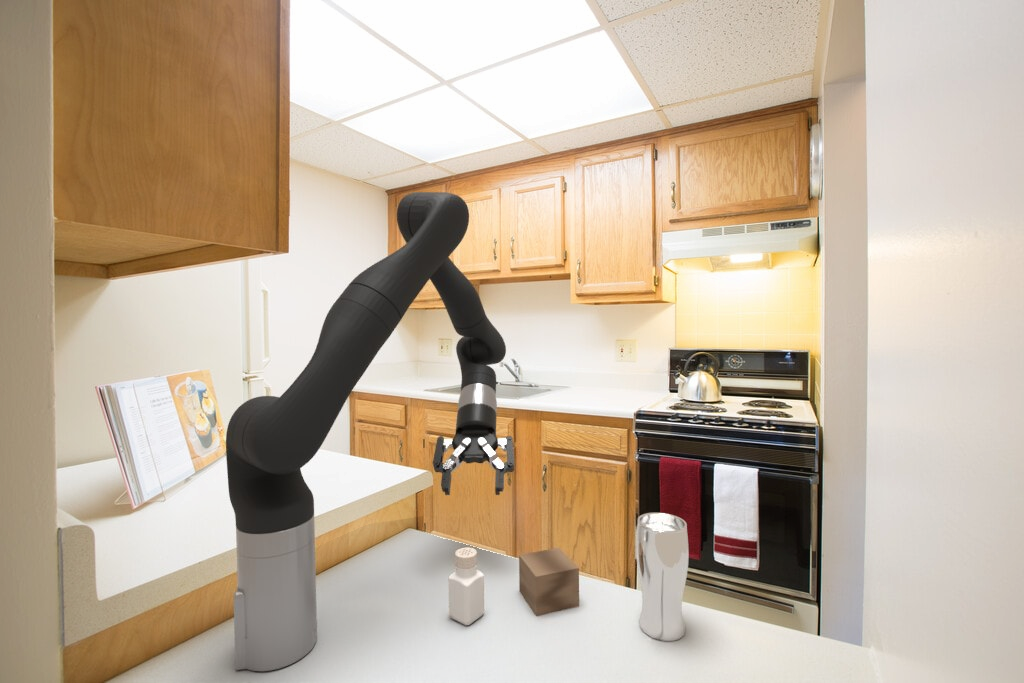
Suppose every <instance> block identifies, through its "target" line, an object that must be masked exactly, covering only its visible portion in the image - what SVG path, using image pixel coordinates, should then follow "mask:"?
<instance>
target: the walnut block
mask: <svg viewBox="0 0 1024 683" xmlns="http://www.w3.org/2000/svg"><path fill="white" fill-rule="evenodd" d="M518 570H519V571H518V576H519V577H518V579H519V580H518V582H519V583H518V584H519V586H518V588H519V594H521V595H522V597H523V599H524V600H525V602H526V603H527V605H528V606H529V608H530V609H531V611H532V612H533V613H534V615H535V617H539V616H544V615H548V614H552V613H557V612H561V611H565V610H570V609H573V608H579V607H580V567H578V566H577V564H575V562H574V561H573V560H572V559H571V558H569V556H568V554H566V553H565V552H564V551H563V550H562V549H561V548H560V547H555V548H551V549H550V548H549V549H543V550H540V551H535V552H534V551H533V552H528V553H527V552H526V553H522V554H519V555H518Z"/></svg>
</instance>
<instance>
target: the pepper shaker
mask: <svg viewBox="0 0 1024 683" xmlns="http://www.w3.org/2000/svg"><path fill="white" fill-rule="evenodd" d="M477 551H478V550H476V549H475V548H473V547H469V546H467V547H461V548H459V549H457V550H455V552H454V554H455V555H454V556H455V560H454V561H455V563H454V566H455V571H453V572H452V573H451V574H450V575H449V577H448V615H449V617H450V618H451V619H453V620H455V621H456V622H459V623H460V624H463V626H469V625H471V624H472V623H474V622H475V621H476V620H478V619H479V618H480V617H482V616H483V615H484V613H485V575H484V573H483V572H482V571H480V570H478V568H477V566H478V552H477Z"/></svg>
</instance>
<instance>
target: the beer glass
mask: <svg viewBox="0 0 1024 683" xmlns="http://www.w3.org/2000/svg"><path fill="white" fill-rule="evenodd" d="M636 526H637V527H636V536H635V537H636V541H635V544H636V545H635V551H636V552H635V554H636V555H635V556H636V565H637V566H636V567H637V572H638V578H639V582H640V583H639V584H640V588H641V599H642V600H641V601H642V602H641V611H640V615H639V622H638V623H639V627H640V629H641V630H642V631H643V633H644V634H645V635H647V636H648V637H650V638H653V639H655V640H658V641H664V642H675V641H678V640H681V639H682V638H683V637H684V635H685V633H686V629H685V628H686V626H685V621H684V617H683V597H684V591H685V587H686V582H687V577H688V569H689V556H690V555H689V537H688V527H687V526H688V524H687V522H686V521H685V520H684V519H683V518H681V517H679V516H677V515H674V514H670V513H666V512H647V513H646V512H645V513H643V514H641V515H639V516H638V517H637V525H636Z"/></svg>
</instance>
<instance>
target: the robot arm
mask: <svg viewBox="0 0 1024 683" xmlns="http://www.w3.org/2000/svg"><path fill="white" fill-rule="evenodd" d="M397 205H398V206H397V208H396V223H397V227H398V229H399V232H400V234H401V237H402V238H403V240H404V241H405V243H404V244H403V245H402V246H401V248H399V249H397V250H395V251H393V253H390V254H389V255H387V256H386V257H384V258H382V259H380V260H379V261H377V262H375V263H373V264H372V265H370V266H369V267H367V268H366V269H365V270H363V271H362V272H360V273H359V274H357V276H356V277H354V279H353V280H352V281H351V282H350V283H349V284H348V285H347V286H346V288H345V289H344V290H343V292H342V293H341V294H340V295H339V296H338V298H337V299H336V301H335V302H333V304H332V306H330V309H329V310H328V312H327V313H326V316H325V319H324V321H323V323H322V327H321V330H320V334H319V338H318V341H317V345H316V346H315V347H316V348H315V349H314V352H313V354H312V357H310V358H311V359H310V360H309V361H308V363H307V365H306V366H305V367H304V369H303V370H302V371H301V373H299V375H298V376H297V377H296V379H295V380H294V381H293V382H292V384H291V385H290V386H289V387H288V388H287V389H286V390H285V391H284V392H283V393H282V394H281V395H280V396H273V395H260V396H257V397H252V398H250V399H248V400H246V401H245V402H243V403H242V404H241V405H240V406H239V407H237V409H236V410H235V411H234V412H233V413H232V415H231V417H230V419H229V421H228V425H227V429H226V436H225V454H226V455H225V456H226V457H225V458H226V471H227V485H228V496H229V501H230V504H231V507H232V509H233V512H234V517H235V518H234V519H235V530H236V532H235V535H236V536H235V537H236V539H235V540H236V569H237V570H236V572H237V579H236V580H237V586H236V589H235V591H234V593H233V625H234V626H233V628H234V629H233V630H234V631H233V632H234V656H235V658H234V659H235V660H234V661H235V663H234V664H235V665H234V666H235V667H234V668H235V671H239V670H248V671H249V670H250V671H254V672H268V671H274V670H279V669H282V668H284V667H287V666H290V665H292V664H294V663H296V662H298V661H300V660H301V659H302V658H304V657H305V656H306V655H308V654H309V653H310V652H311V650H313V648H314V647H315V645H316V644H317V640H318V619H317V613H318V612H317V585H316V584H317V578H316V534H315V530H316V528H315V526H316V525H315V499H314V498H315V497H314V494H313V492H312V490H311V489H310V488H309V486H308V484H307V483H306V481H305V479H304V476H303V474H302V471H301V470H302V469H301V468H303V467H304V466H305V465H306V464H308V463H309V462H310V461H311V460H312V459H313V458H314V457H315V456H316V454H317V453H318V451H319V450H320V449H321V447H322V445H323V443H324V442H325V441H326V438H327V437H328V434H329V433H330V431H331V430H332V427H333V425H334V423H336V420H337V418H338V416H339V414H340V413H341V411H342V409H343V407H344V406H345V403H346V402H347V400H348V398H349V396H350V394H351V393H352V391H353V390H354V388H355V386H357V384H358V382H359V381H360V380H361V378H362V376H364V374H365V373H366V371H367V369H368V368H369V367H370V365H371V364H372V362H373V360H374V359H375V357H376V355H377V354H378V352H379V351H380V350H381V348H382V347H383V346H384V345H385V343H386V342H387V341H388V340H389V338H390V337H391V335H392V334H393V332H394V331H395V330H396V328H397V326H398V325H399V324H400V322H401V321H402V319H403V318H404V316H405V314H406V313H407V311H408V310H409V308H410V306H411V305H412V303H413V302H414V301H415V300H416V298H417V297H418V295H419V294H420V292H422V290H423V288H425V285H427V283H428V282H429V280H430V281H431V283H432V285H433V286H434V288H435V290H436V291H437V294H438V295H439V297H440V300H442V301H441V302H442V303H443V305H444V308H445V309H446V312H447V314H448V317H449V319H450V321H451V324H452V327H453V329H454V330H455V332H456V333H457V334H458V335H459V336H461V338H460V339H459V340H458V341H457V343H456V346H455V351H456V356H457V359H458V363H459V366H460V373H461V383H460V385H461V386H460V395H459V398H458V404H457V413H456V423H455V424H456V425H455V433H454V437H453V438H452V439H451V438H448V439H447V438H444V436H442V435H439V436H438V437H437V438H436V443H435V448H434V449H435V450H434V454H433V459H432V466H433V470H434V472H435V473H441V480H440V481H441V482H440V486H441V487H440V488H441V491H442V492H443V493H444V495H445V496H451V495H450V494H451V485H452V473H453V472H454V471H455V470H456V469H457V468H460V466H461V465H462V464H463V463H464V462H465V464H474V463H476V464H484V462H487V464H488V465H489V466H490V467H491V468H492V469H493V470H494V471H495V481H494V482H495V484H494V486H495V488H494V490H495V491H494V493H495V496H500V495H501V494H500V493H501V492H503V491H504V490H505V489H504V488H505V475H506V473H513V472H515V454H514V441H513V439H514V438H513V436H512V435H507V436H506V437H505V438H498V437H497V415H498V410H497V409H498V408H497V406H498V404H497V403H498V402H497V394H496V393H497V375H496V371H495V370H494V368H493V367H491V366H489V365H496V364H499V363H501V362H502V361H503V360H504V358H505V357H506V352H507V347H506V346H507V345H506V344H505V340H504V338H503V336H502V335H501V333H500V332H499V331H498V330H497V328H496V326H495V325H493V323H492V322H491V320H490V319H489V317H488V316H487V314H486V312H485V309H484V306H483V304H482V301H481V297H480V295H479V293H478V290H476V288H475V287H474V284H473V283H472V282H471V281H470V280H469V279H468V277H467V276H466V275H465V274H464V273H463V272H462V271H461V270H460V269H459V268H458V267H457V266H456V264H455V263H454V262H453V261H452V260H451V258H450V256H451V255H452V253H453V252H454V251H455V250H456V249H457V248H458V246H459V245H460V244H461V242H462V241H463V239H464V237H465V235H466V233H467V231H468V227H469V222H470V210H469V208H468V205H467V203H466V201H465V199H463V198H462V197H460V196H459V195H457V194H455V193H451V192H443V191H442V192H441V191H440V192H439V191H424V192H423V191H421V192H420V191H416V192H411V193H408V194H406V195H404V196H403V197H402V198H401V200H400V202H398V204H397ZM499 447H500V448H501V450H502V451H503V452H506V461H505V462H503V461H502V460H501V459H500V458H499V457H498V454H497V453H496V452H495V451H496V450H498V448H499ZM450 448H452V449H453V450H454V451H453V452H452V453H451V454H450V456H449V457H448V459H447V460H446V461H445V462H443V460H444V455H445V453H446V452H448V451H449V449H450Z"/></svg>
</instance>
